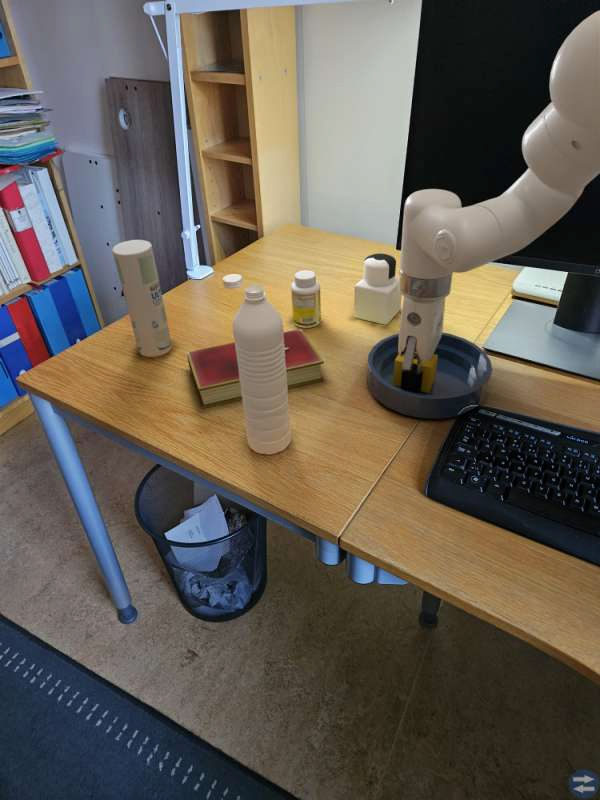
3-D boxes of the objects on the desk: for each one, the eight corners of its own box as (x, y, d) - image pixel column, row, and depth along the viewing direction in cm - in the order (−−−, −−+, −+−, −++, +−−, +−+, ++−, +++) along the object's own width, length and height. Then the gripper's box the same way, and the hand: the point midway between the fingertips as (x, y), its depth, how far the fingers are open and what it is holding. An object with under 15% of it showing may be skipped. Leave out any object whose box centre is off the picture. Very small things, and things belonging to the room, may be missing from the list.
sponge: (434, 380, 93) (438, 354, 90) (429, 393, 90) (432, 367, 87) (399, 372, 95) (401, 347, 92) (392, 385, 92) (394, 360, 89)
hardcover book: (189, 369, 99) (186, 349, 97) (301, 345, 104) (300, 326, 101) (202, 408, 90) (198, 387, 88) (324, 380, 95) (323, 359, 92)
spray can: (167, 357, 103) (145, 254, 91) (133, 357, 103) (106, 255, 91) (176, 339, 108) (156, 239, 96) (143, 339, 108) (119, 239, 96)
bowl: (496, 364, 97) (500, 342, 94) (474, 434, 83) (479, 410, 80) (387, 343, 103) (388, 322, 101) (350, 404, 89) (350, 381, 87)
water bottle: (300, 440, 83) (291, 286, 68) (267, 462, 80) (250, 305, 64) (261, 414, 88) (245, 266, 73) (229, 434, 85) (205, 283, 70)
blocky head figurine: (368, 302, 116) (371, 247, 109) (400, 310, 113) (405, 253, 106) (353, 317, 112) (354, 261, 104) (386, 325, 109) (390, 268, 101)
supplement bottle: (307, 312, 114) (305, 265, 108) (326, 321, 111) (326, 274, 105) (287, 322, 111) (284, 274, 105) (306, 332, 108) (304, 283, 102)
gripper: (437, 310, 74) (424, 417, 85) (463, 261, 86) (448, 360, 97) (382, 301, 76) (376, 406, 88) (415, 254, 88) (406, 352, 99)
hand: (414, 381), depth 92 cm, fingers closed on sponge, 4 cm apart
